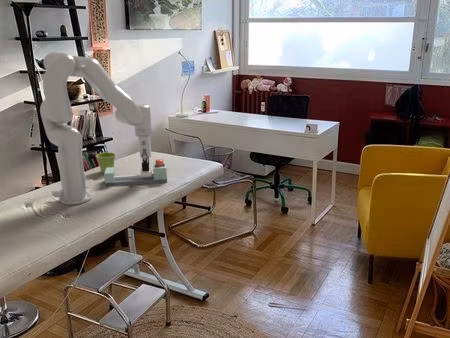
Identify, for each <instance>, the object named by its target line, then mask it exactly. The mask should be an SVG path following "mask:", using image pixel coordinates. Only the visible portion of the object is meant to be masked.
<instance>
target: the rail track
mask: <svg viewBox="0 0 450 338" xmlns="http://www.w3.org/2000/svg"><path fill="white" fill-rule="evenodd" d="M152 165H153V166H152V169H153V170H152V172H153V173H152V176H147V177H141V174H130V175H129V174H128V175H127V174H125V175H117V174H116V167H115V166H114V167H108V168H106V170H105V173H103V174H104V182H105V183H104V184H105V187H110V186H114V187H115V186H126V185H129V186H130V185H143V184H146V185H147V184H158V183H168V175H167V173H168V172H167V162H166V161H163V165H164V166H163V167H156V162H153V163H152Z"/></svg>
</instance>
